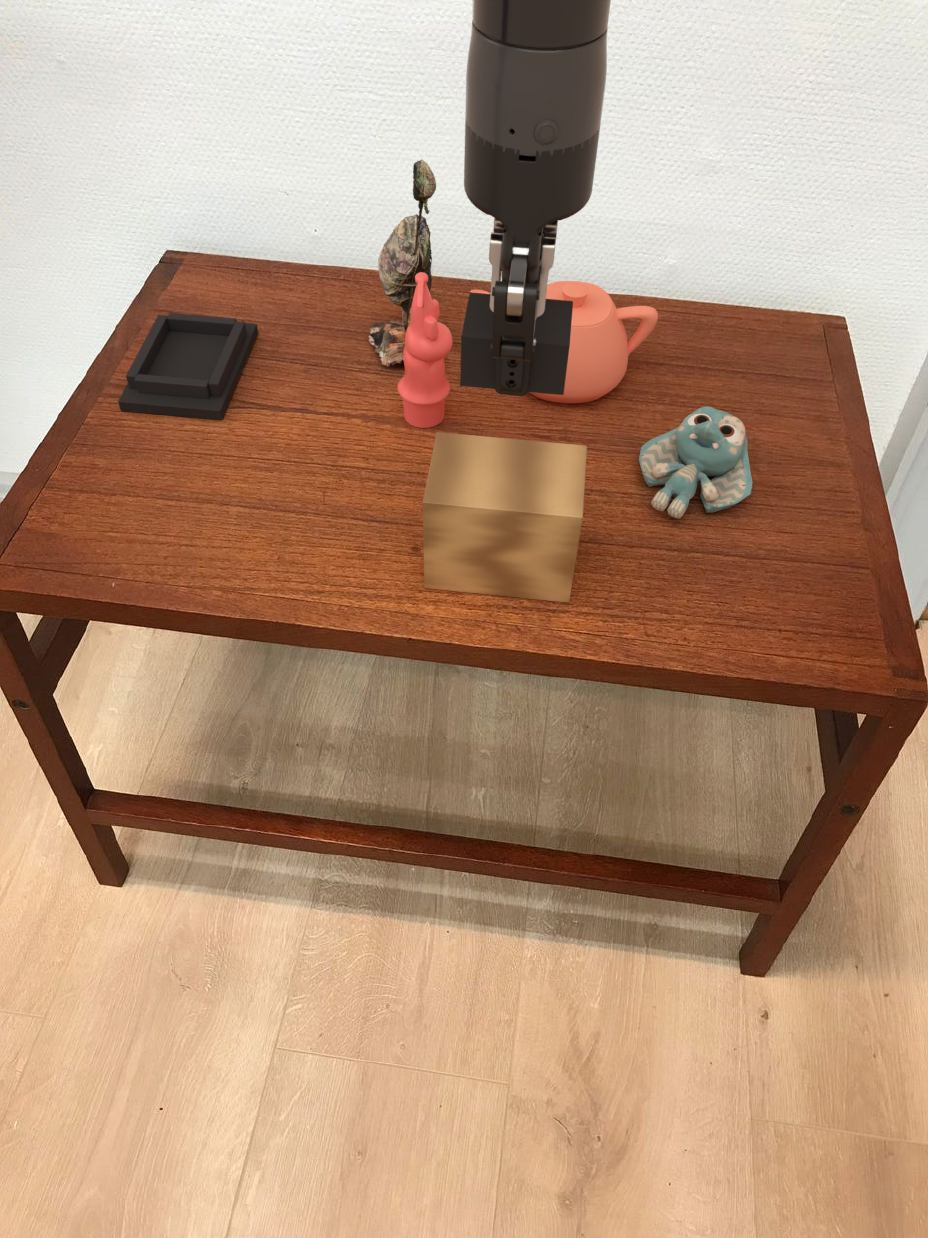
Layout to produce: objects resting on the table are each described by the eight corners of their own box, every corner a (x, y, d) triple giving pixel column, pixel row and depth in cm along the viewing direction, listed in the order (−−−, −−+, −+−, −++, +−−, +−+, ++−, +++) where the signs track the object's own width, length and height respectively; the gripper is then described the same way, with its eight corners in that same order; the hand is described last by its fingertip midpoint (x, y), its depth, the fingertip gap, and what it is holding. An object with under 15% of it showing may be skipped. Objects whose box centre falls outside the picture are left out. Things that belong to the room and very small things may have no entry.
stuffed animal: (612, 456, 83) (679, 364, 87) (608, 506, 89) (671, 417, 94) (728, 508, 79) (792, 409, 84) (716, 556, 86) (776, 462, 90)
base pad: (222, 420, 93) (217, 398, 91) (120, 411, 94) (113, 388, 92) (258, 333, 102) (254, 310, 100) (165, 325, 103) (159, 302, 100)
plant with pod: (451, 310, 105) (452, 120, 89) (440, 376, 98) (439, 182, 82) (376, 305, 105) (364, 115, 90) (359, 370, 98) (344, 176, 83)
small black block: (460, 386, 66) (461, 335, 63) (468, 341, 69) (469, 291, 66) (563, 395, 66) (569, 345, 62) (567, 350, 69) (573, 300, 66)
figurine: (451, 433, 93) (452, 294, 81) (396, 432, 93) (390, 292, 81) (452, 399, 96) (454, 259, 84) (400, 397, 96) (394, 258, 84)
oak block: (424, 588, 81) (422, 502, 73) (437, 519, 86) (436, 431, 78) (569, 603, 80) (583, 517, 72) (573, 532, 85) (587, 445, 77)
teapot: (650, 413, 95) (668, 330, 88) (465, 405, 95) (467, 322, 88) (642, 338, 102) (657, 255, 95) (470, 331, 103) (472, 248, 95)
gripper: (479, 53, 59) (472, 301, 72) (449, 170, 50) (447, 429, 63) (604, 62, 58) (573, 310, 71) (597, 182, 49) (563, 440, 63)
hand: (514, 365), depth 67 cm, fingers closed on small black block, 5 cm apart
